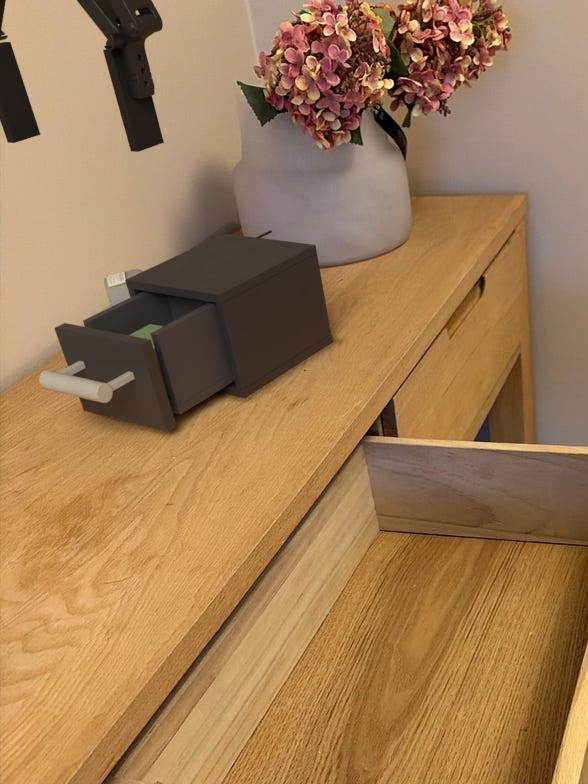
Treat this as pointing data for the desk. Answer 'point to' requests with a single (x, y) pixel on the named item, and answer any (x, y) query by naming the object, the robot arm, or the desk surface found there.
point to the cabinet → (251, 301)
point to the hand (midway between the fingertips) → (83, 143)
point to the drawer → (144, 359)
